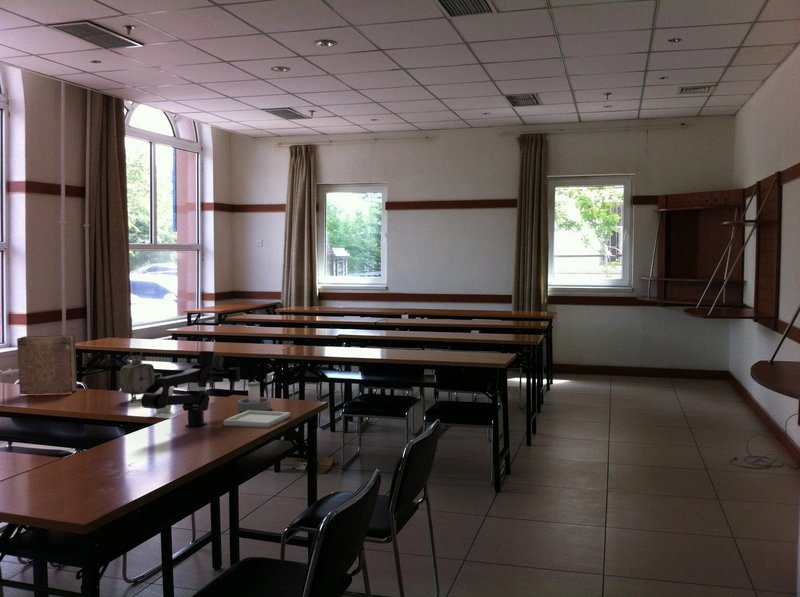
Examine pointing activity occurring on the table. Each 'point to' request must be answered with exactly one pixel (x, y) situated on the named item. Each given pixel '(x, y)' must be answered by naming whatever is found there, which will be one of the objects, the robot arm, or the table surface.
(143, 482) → the table surface
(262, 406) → the collar
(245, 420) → the tray
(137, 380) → the tabletop clock
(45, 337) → the book
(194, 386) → the supplement box
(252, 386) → the canister
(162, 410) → the cup
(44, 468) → the table surface
